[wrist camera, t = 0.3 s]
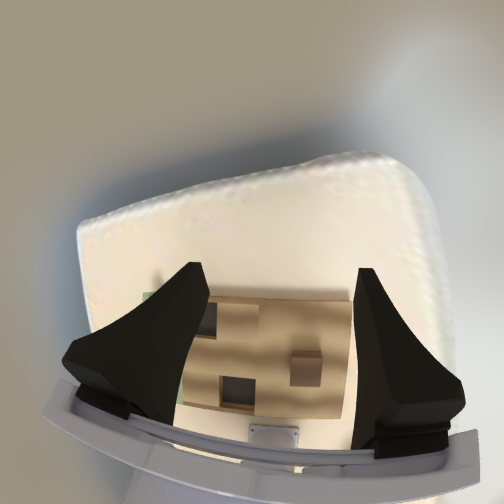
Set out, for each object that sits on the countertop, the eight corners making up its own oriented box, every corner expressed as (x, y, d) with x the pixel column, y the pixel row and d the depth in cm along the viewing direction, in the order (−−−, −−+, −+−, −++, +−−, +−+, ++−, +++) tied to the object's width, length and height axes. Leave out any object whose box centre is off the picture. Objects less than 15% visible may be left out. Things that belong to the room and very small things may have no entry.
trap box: (338, 412, 38) (342, 426, 33) (159, 393, 43) (146, 402, 38) (349, 300, 40) (355, 303, 35) (158, 292, 45) (142, 292, 40)
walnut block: (318, 377, 37) (320, 387, 33) (290, 376, 38) (289, 386, 34) (321, 351, 37) (322, 358, 33) (292, 350, 38) (291, 357, 34)
